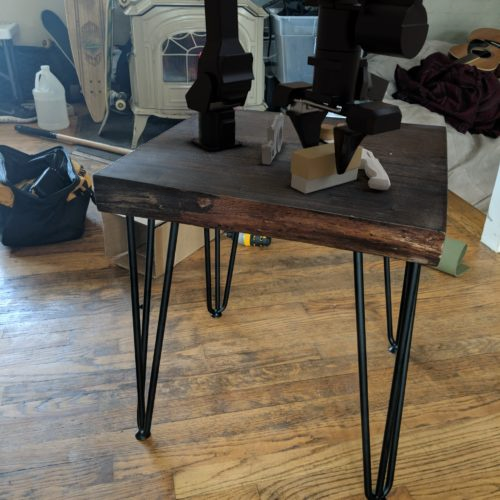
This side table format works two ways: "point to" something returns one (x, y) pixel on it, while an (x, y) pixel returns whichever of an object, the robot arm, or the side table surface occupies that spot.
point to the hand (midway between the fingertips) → (326, 168)
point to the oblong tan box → (320, 168)
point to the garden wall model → (273, 138)
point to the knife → (372, 170)
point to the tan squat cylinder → (326, 132)
